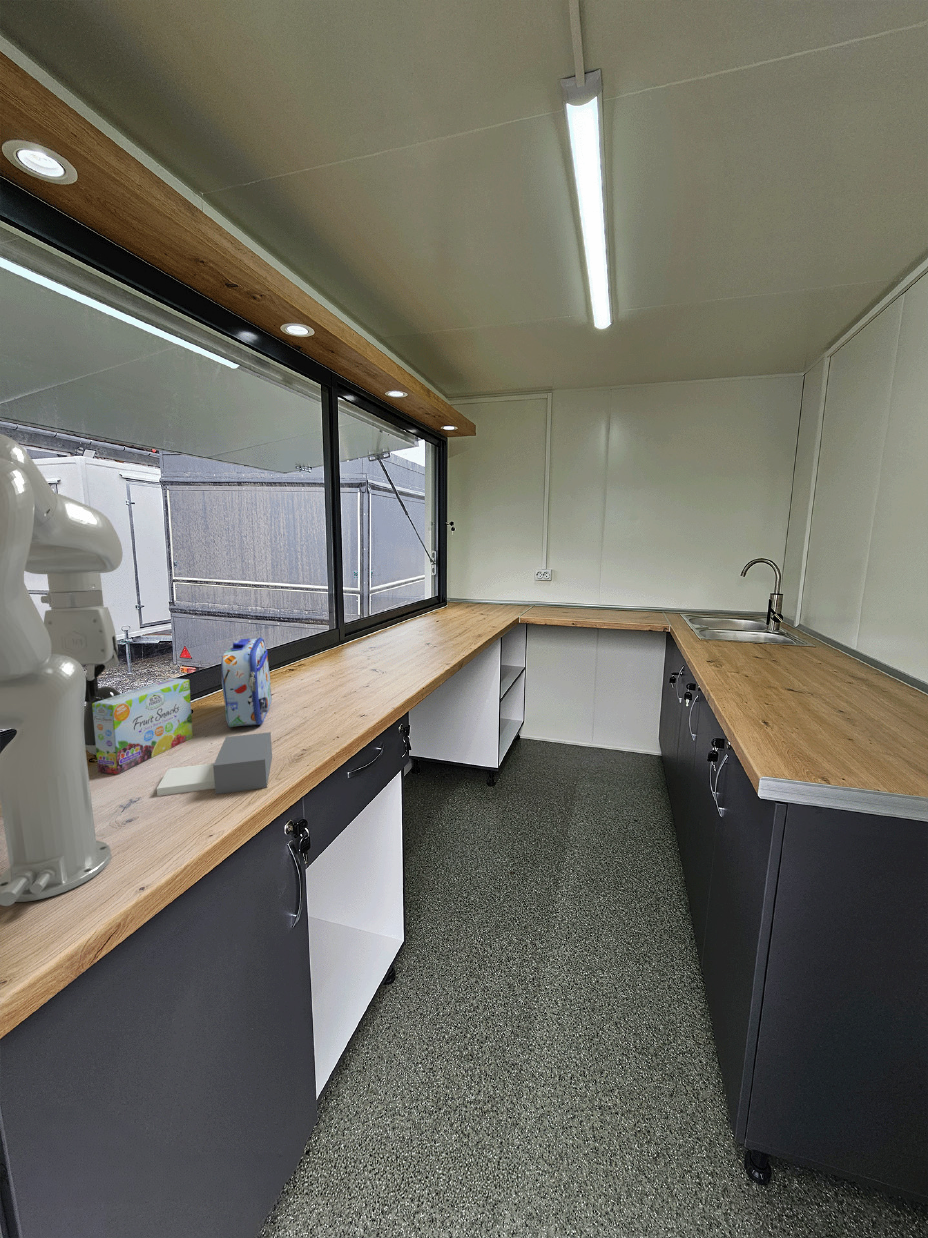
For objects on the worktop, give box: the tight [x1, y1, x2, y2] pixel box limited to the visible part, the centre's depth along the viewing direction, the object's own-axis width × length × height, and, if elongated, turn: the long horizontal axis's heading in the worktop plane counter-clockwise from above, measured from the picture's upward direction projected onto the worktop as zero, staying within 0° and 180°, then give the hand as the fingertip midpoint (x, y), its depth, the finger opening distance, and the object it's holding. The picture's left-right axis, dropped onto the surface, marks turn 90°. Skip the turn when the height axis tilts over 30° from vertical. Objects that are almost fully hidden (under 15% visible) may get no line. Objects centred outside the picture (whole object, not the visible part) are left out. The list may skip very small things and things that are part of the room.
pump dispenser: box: [84, 686, 121, 756], centre depth 113 cm, size 10×10×15 cm
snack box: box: [92, 677, 194, 775], centre depth 112 cm, size 21×6×15 cm, turn 168°
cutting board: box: [156, 762, 215, 797], centre depth 100 cm, size 9×16×2 cm, turn 108°
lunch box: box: [220, 637, 273, 728], centre depth 136 cm, size 28×10×22 cm, turn 17°
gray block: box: [213, 732, 273, 795], centre depth 102 cm, size 15×9×6 cm, turn 17°
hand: (88, 700), depth 92 cm, fingers closed
